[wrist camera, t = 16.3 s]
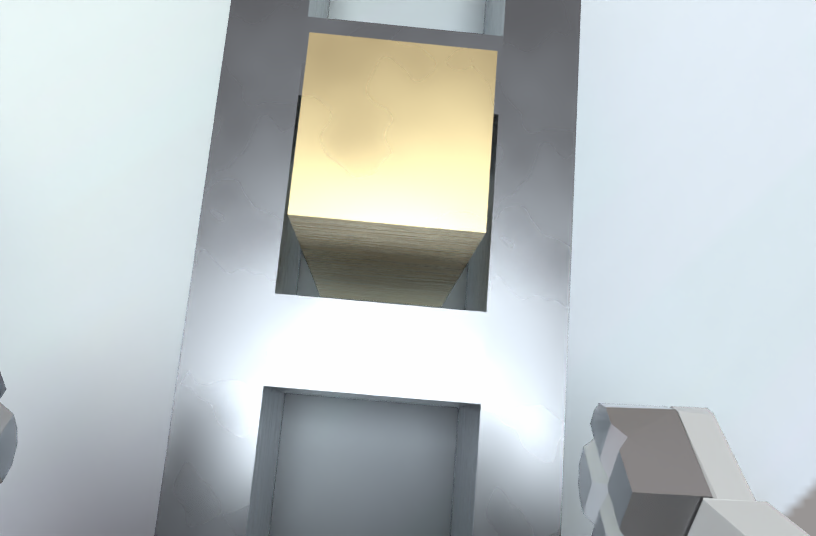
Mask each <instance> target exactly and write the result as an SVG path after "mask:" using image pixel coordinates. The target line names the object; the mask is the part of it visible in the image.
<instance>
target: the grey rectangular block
mask: <svg viewBox="0 0 816 536" xmlns="http://www.w3.org/2000/svg"><path fill="white" fill-rule="evenodd" d="M329 3H330V0H231V6H230V13H229V20H228V27H227V34H226V41H225V47H224V54H223V61H222V68H221V75H220V82H219V89H218V96H217V103H216V110H215V117H214V124H213V131H212V138H211V145H210V152H209V159H208V166H207V173H206V180H205V187H204V194H203V201H202V208H201V215H200V222H199V229H198V236H197V243H196V250H195V257H194V264H193V271H192V277H191V284H190V291H189V298H188V305H187V312H186V319H185V326H184V333H183V340H182V347H181V354H180V361H179V368H178V375H177V382H176V389H175V396H174V403H173V410H172V417H171V424H170V431H169V438H168V445H167V452H166V459H165V466H164V473H163V480H162V487H161V494H160V501H159V507H158V514H157V521H156V528H155V535H154V536H269V531H270V522H271V513H272V504H273V496H274V487H275V478H276V469H277V460H278V452H279V443H280V434H281V425H282V416H283V408H284V399H285V393H290V394H301V395H313V396H325V397H337V398H349V399H361V400H372V401H384V402H396V403H408V404H420V405H432V406H444V407H455V408H459V410H458V425H457V440H456V455H455V469H454V484H453V499H452V514H451V529H450V536H561V511H562V484H563V458H564V432H565V406H566V380H567V353H568V327H569V301H570V275H571V249H572V222H573V196H574V170H575V144H576V118H577V91H578V65H579V39H580V13H581V0H486V5H485V20H484V34H476V33H466V32H456V31H446V30H436V29H426V28H417V27H407V26H397V25H387V24H377V23H367V22H357V21H347V20H337V19H328V12H329ZM309 32H312V33H322V34H332V35H342V36H352V37H362V38H372V39H382V40H392V41H402V42H412V43H422V44H432V45H442V46H452V47H462V48H472V49H482V50H492V51H497V66H496V82H495V98H494V114H493V129H492V145H491V161H490V177H489V192H488V208H487V224H486V233H485V235H484V237H483V238H482V240H481V242H480V243H479V245H478V247H477V248H476V250H475V252H474V253H473V255H472V257H471V258H470V260H469V262H468V275H467V290H466V305H465V310H456V309H445V308H433V307H422V306H411V305H399V304H388V303H377V302H366V301H354V300H343V299H332V298H321V297H309V296H298V295H296V293H297V285H298V276H299V267H300V258H301V247H300V244H299V242H298V239H297V237H296V234H295V232H294V229H293V227H292V224H291V222H290V219H289V217H288V207H289V198H290V190H291V182H292V173H293V165H294V157H295V148H296V140H297V132H298V123H299V115H300V107H301V98H302V90H303V82H304V73H305V65H306V57H307V48H308V40H309Z"/></svg>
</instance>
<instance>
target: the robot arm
mask: <svg viewBox="0 0 816 536" xmlns="http://www.w3.org/2000/svg"><path fill="white" fill-rule="evenodd" d="M5 391H6V387H5V384H4V381H3V378H2V376H1V373H0V398H1V397H2V395H3V394H4V392H5ZM590 425H591V428H592V432H593V436H594V439H593V440H592V441H590V442H589V443H588V444H586V445H585V446H584V447H583V451H582V455H581V459H580V463H579V479H578V486H579V496H580V502H581V506H582V511H583V514H584V515H585V516H586V517H587V518H588V519H589V520H590V521H591V522H592V523H593V524H594V529H593V532H592V535H591V536H810V535H809V534H807V533H806V532H805V531H804V530H802V529H801V528H800V527H798V526H797V525H796V524H795V523H793V522H792V521H791V520H790V519H788V518H787V517H786V516H784V515H783V514H782V513H781V512H779V511H778V510H777V509H776V508H774V507H773V506H772V505H771V504H769V503H768V502H764V501H756V500H755V498H754V496H753V494H752V492H751V490H750V488H749V486H748V483H747V481H746V479H745V477H744V475H743V473H742V471H741V469H740V467H739V465H738V463H737V461H736V459H735V457H734V455H733V453H732V451H731V449H730V446H729V444H728V442H727V440H726V438H725V436H724V434H723V432H722V430H721V428H720V426H719V424H718V422H717V420H716V418H715V416H714V414H713V412H711V411H710V410H709V409H708V408H699V407H676V406H671V407H666V406H647V405H628V404H608V403H599V404H598V406H597V407H596V408H595V410H594V413H593V416H592V419H591V423H590ZM16 447H17V425H16V422H15V418H14V414H13V413H12V412H11V411H9V410H8V409H7V408H6V407H5V406H4V405H3V404H1V403H0V484H1V483H2V482H3V480H4V478H5V476H6V475H7V473H8V471H9V469H10V467H11V466H12V463H13V459H14V455H15V451H16Z"/></svg>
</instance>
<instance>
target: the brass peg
mask: <svg viewBox="0 0 816 536" xmlns="http://www.w3.org/2000/svg"><path fill="white" fill-rule="evenodd" d="M496 66H497V51H492V50H482V49H472V48H462V47H452V46H442V45H432V44H422V43H412V42H402V41H392V40H382V39H372V38H362V37H352V36H342V35H332V34H322V33H312V32H309V40H308V48H307V57H306V65H305V73H304V82H303V90H302V98H301V107H300V115H299V123H298V132H297V140H296V148H295V157H294V165H293V173H292V182H291V190H290V198H289V207H288V217H289V219H290V222H291V224H292V227H293V229H294V232H295V234H296V237H297V239H298V242H299V244H300V247H301V249H302V252H303V254H304V257H305V259H306V262H307V264H308V267H309V269H310V272H311V274H312V277H313V279H314V281H315V284H316V286H317V289H318V291H319V294H320V296H321V297H332V298H343V299H355V300H366V301H377V302H388V303H399V304H410V305H422V306H433V307H441V306H442V305H443V303H444V301H445V300H446V298H447V296H448V295H449V293H450V291H451V290H452V288H453V286H454V285H455V283H456V281H457V280H458V278H459V276H460V275H461V273H462V272H463V270H464V268H465V267H466V265H467V263H468V262H469V260H470V258H471V257H472V255H473V253H474V252H475V250H476V248H477V247H478V245H479V243H480V242H481V240H482V238H483V237H484V235H485V233H486V224H487V208H488V192H489V177H490V161H491V145H492V129H493V114H494V98H495V82H496Z"/></svg>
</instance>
